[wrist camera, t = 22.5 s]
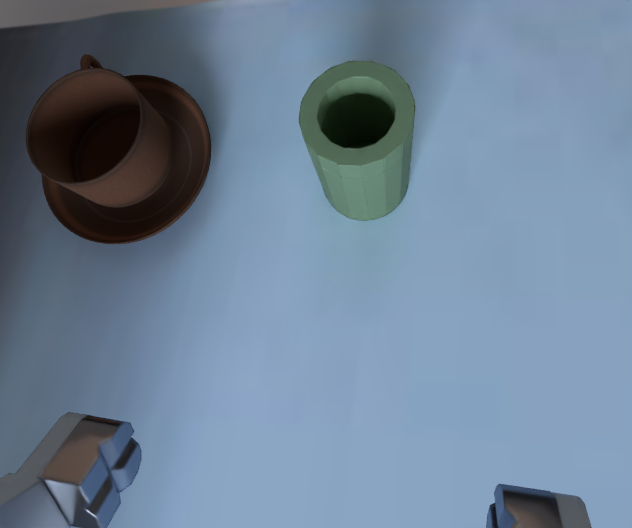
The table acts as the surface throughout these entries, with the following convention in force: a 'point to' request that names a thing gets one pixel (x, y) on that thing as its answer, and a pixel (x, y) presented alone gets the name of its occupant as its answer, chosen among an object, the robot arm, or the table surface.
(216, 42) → the table surface
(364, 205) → the green cylindrical container
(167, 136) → the cup and saucer
